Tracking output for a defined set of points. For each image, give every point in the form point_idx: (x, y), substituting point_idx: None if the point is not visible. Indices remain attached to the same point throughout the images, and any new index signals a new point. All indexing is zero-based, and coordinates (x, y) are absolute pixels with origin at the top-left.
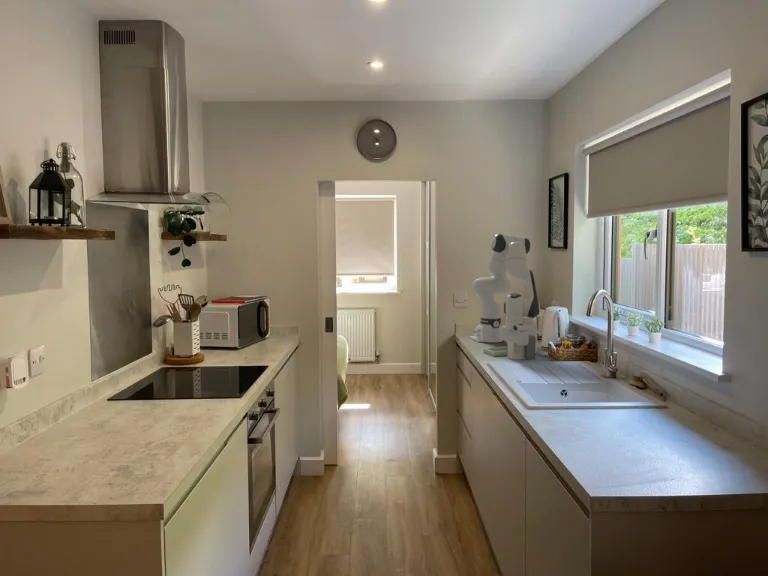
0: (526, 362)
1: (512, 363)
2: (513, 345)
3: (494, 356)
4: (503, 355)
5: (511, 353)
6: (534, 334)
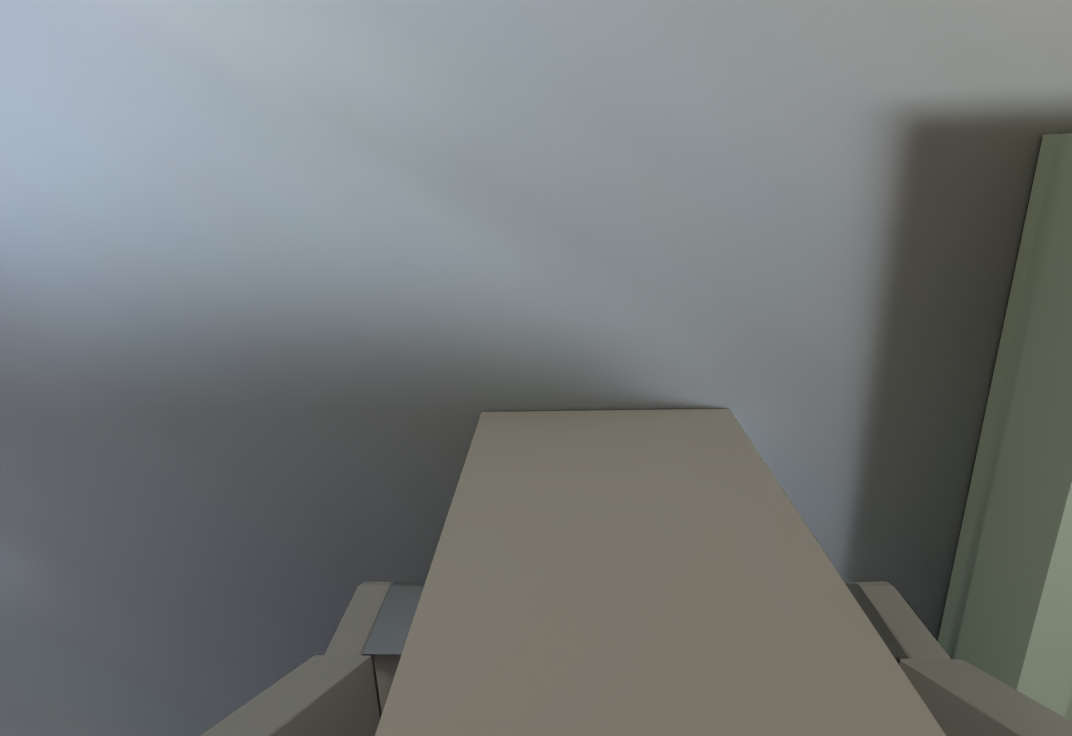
0: (119, 508)
1: (67, 140)
2: (387, 718)
3: (1041, 145)
4: (980, 442)
5: (556, 479)
6: None
